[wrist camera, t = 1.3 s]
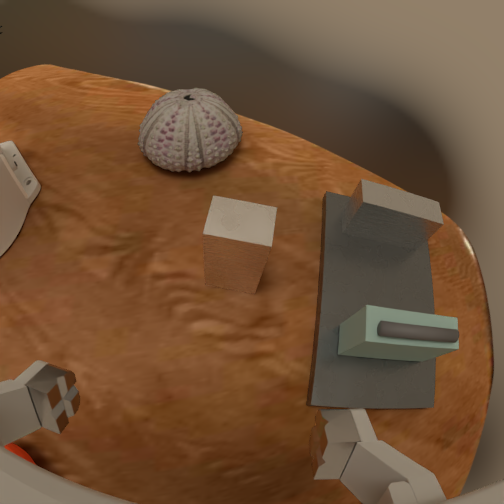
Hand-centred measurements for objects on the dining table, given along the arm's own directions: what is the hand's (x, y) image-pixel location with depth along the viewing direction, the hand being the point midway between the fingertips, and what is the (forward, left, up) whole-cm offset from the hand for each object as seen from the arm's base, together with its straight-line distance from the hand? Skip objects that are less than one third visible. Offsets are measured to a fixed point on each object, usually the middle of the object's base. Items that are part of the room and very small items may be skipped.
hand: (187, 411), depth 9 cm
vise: (+2, +21, -19) cm, 29 cm away
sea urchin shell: (-28, +16, -20) cm, 38 cm away
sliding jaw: (+6, +17, -18) cm, 25 cm away
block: (-9, +10, -19) cm, 24 cm away
